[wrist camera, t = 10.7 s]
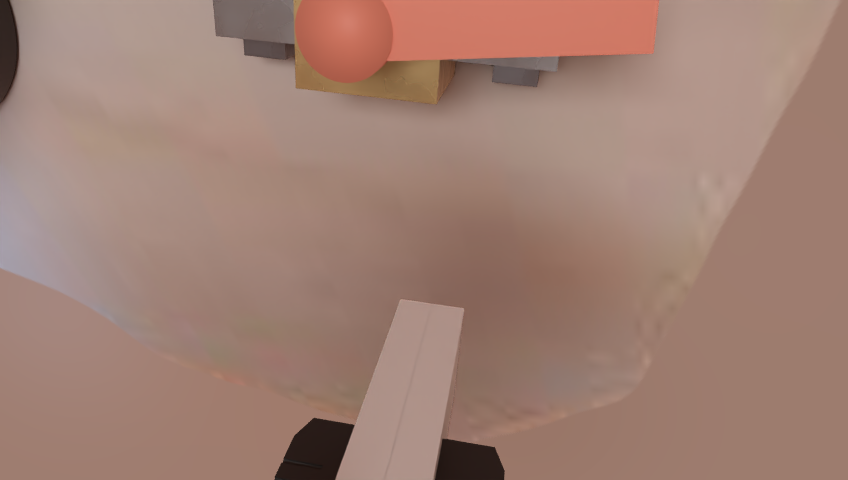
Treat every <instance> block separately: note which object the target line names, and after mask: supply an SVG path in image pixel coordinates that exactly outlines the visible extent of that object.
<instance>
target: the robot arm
mask: <svg viewBox="0 0 848 480" xmlns="http://www.w3.org/2000/svg"><path fill="white" fill-rule="evenodd" d="M16 56H17V44H16V33H15V27H14V22H13V17H12V13H11V10H10V6H9V3H8V0H0V102H1V101H2V99H3V98H4V96H5V95H6V93H7V91H8V89H9V87H10V85H11V82H12V79H13V76H14V72H15V66H16ZM463 317H464V308H459V307H452V306H445V305H439V304H432V303H425V302H418V301H411V300H405V299H400V301H399V304H398V307H397V310H396V313H395V315H394V318H393V321H392V324H391V326H390V329H389V332H388V335H387V337H386V340H385V343H384V346H383V349H382V351H381V354H380V357H379V360H378V362H377V365H376V368H375V371H374V374H373V376H372V379H371V382H370V385H369V387H368V390H367V393H366V396H365V398H364V401H363V404H362V407H361V410H360V412H359V415H358V418H357V421H356V423H355V425H352V424H346V423H340V422H334V421H328V420H323V419H317V418H313V419H312V420H311V421H310V422H309V423H308V424H307V425H306V426H305V427H303V428H302V429H301V430H300V431H299V432H298V433H297V434H296V435H295V436H294V438H293V440H292V442H291V444H290V446H289V448H288V450H287V452H286V455H285V457H284V460H283V463H281V465H280V467H279V469H278V471H277V474H276V476H275V480H504V469H503V466H502V464H501V461H500V459H499V456H498V454H497V452H496V449H495V447H490V446H484V445H478V444H472V443H466V442H460V441H455V440H449V439H447V436H448V430H449V424H450V418H451V412H452V406H453V400H454V393H455V384H456V376H457V367H458V359H459V351H460V342H461V334H462V325H463Z"/></svg>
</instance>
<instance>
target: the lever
mask: <svg viewBox="0 0 848 480" xmlns="http://www.w3.org/2000/svg"><path fill="white" fill-rule="evenodd" d="M658 5H659V0H302V1H301V3H300V5H299V7H298V10H297V14H296V19H295V33H296V39H297V43H298V46H299V48H300V51H301V53H302V55H303V56H304V58H305V60H306V61H307V62H308V63H309V65H310V66H311V67H312V68H313V69H314V70H315V71H317V72H318V73H319V74H321V75H322V76H324V77H326V78H328V79H330V80H333V81H336V82H341V83H354V82H358V81H362V80H364V79H367V78H368V77H370V76H372V75H373V74H374V73H376V72H377V71H378V70H379V69H380V68H381V67H383V66H384V65H385V64H386V63H387V62H388V61H411V60H445V59H480V58H514V57H549V56H583V55H618V54H652V53H653V52H654V43H655V33H656V24H657V15H658Z"/></svg>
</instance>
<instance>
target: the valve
mask: <svg viewBox="0 0 848 480" xmlns="http://www.w3.org/2000/svg"><path fill="white" fill-rule="evenodd" d="M301 1H302V0H213V6H214V18H215V30H216V36H221V37H231V38H240V39H244V53H245V55H248V56H257V57H266V58H275V59H287V58H289V57H291V56H293V55H295V74H296V88H299V89H308V90H316V91H325V92H334V93H342V94H351V95H360V96H369V97H377V98H386V99H395V100H404V101H412V102H421V103H430V104H437V103H438V101H439V99H440V98H441V96H442V94H443V93H444V91H445V89H446V87H447V86H448V84H449V82H450V81H451V79H452V77H453V76H454V74H455V64H456V61H458V62H468V63H477V64H487V65H494V69H493V78H492V82H496V83H505V84H514V85H523V86H533V87H537V83H538V76H539V70H543V71H553V72H557V67H558V61H559V56H549V57H514V58H480V59H445V60H411V61H388V62H387V63H386V64H385V65H384V66H383V67H381V68H380V69H379V70H378V71H377V72H376V73H374V74H373V75H372V76H370V77H368V78H367V79H364V80H362V81H358V82H354V83H341V82H336V81H333V80H330V79H328V78H326V77H324V76H322V75H321V74H319V73H318V72H317V71H315V70H314V69H313V68H312V67H311V66H310V65H309V63H308V62H307V61H306V60H305V58H304V56H303V55H302V53H301V51H300V48H299V46H298V43H297V39H296V33H295V19H296V14H297V10H298V7H299V5H300V3H301Z"/></svg>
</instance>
